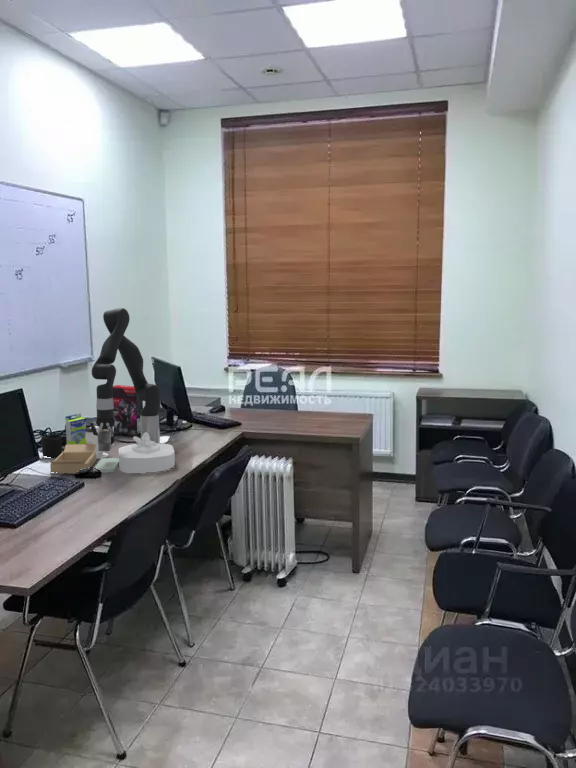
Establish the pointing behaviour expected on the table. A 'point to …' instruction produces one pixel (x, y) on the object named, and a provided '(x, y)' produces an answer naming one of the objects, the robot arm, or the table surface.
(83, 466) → the carton
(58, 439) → the pen holder
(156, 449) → the tissue box
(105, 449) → the block
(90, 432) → the white security camera
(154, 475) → the table surface
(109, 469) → the board
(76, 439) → the box
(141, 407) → the graphics card box
